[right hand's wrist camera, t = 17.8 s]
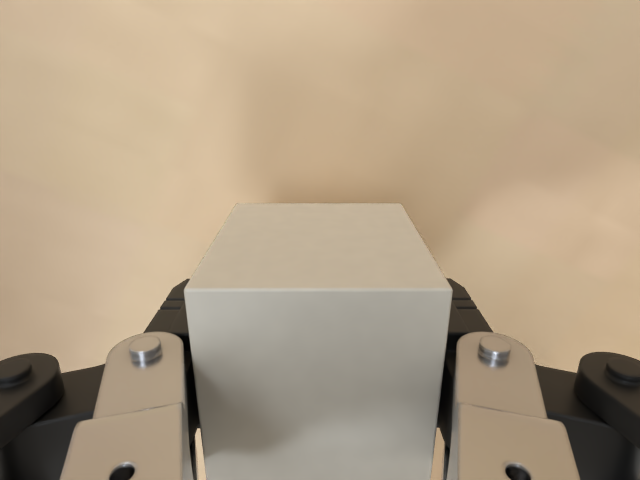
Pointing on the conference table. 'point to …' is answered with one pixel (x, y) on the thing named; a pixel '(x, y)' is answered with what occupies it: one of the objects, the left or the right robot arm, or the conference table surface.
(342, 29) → the conference table surface
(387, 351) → the block
